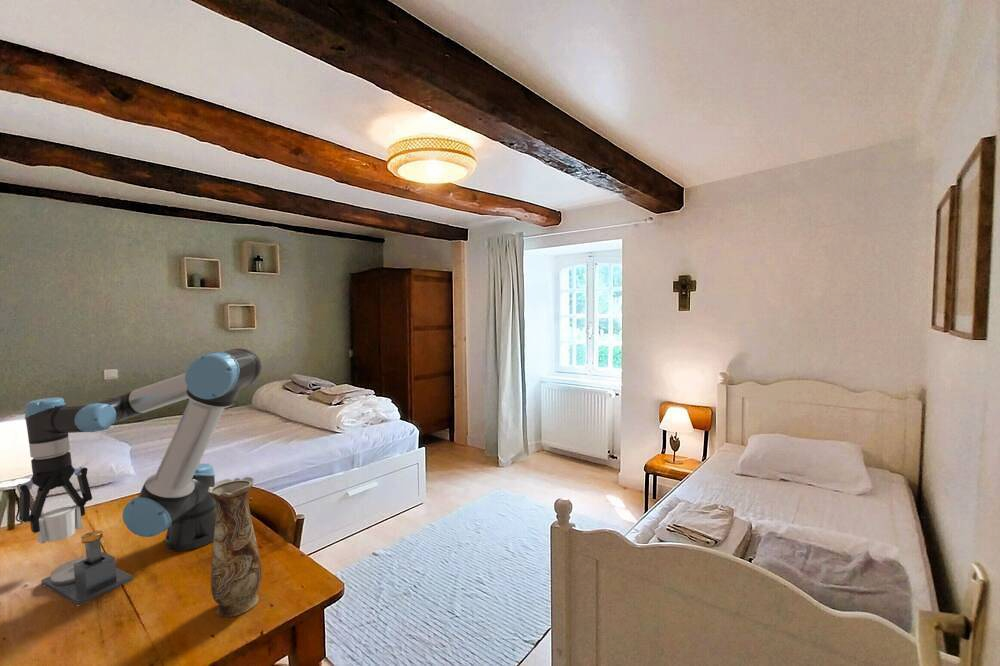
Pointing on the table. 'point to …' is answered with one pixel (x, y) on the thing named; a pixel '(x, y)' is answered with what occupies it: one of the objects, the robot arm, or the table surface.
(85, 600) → the slotted base stand
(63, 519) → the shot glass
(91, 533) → the gold capped peg
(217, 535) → the vase
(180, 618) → the table surface
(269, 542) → the table surface
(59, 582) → the grey rounded flat piece
